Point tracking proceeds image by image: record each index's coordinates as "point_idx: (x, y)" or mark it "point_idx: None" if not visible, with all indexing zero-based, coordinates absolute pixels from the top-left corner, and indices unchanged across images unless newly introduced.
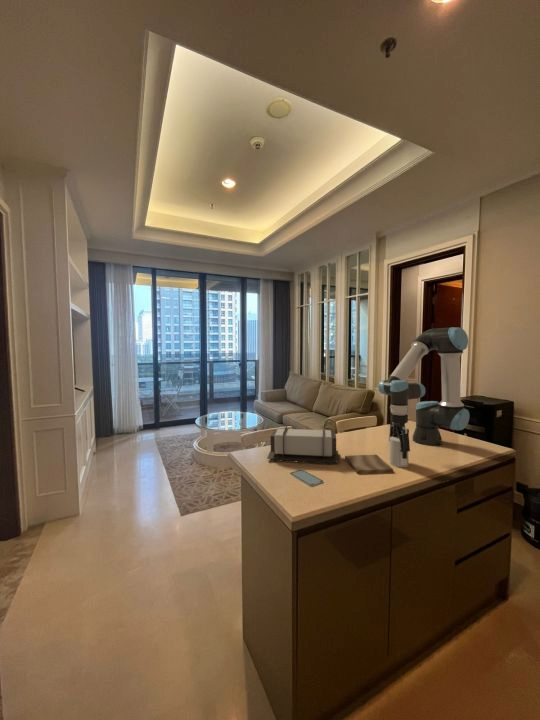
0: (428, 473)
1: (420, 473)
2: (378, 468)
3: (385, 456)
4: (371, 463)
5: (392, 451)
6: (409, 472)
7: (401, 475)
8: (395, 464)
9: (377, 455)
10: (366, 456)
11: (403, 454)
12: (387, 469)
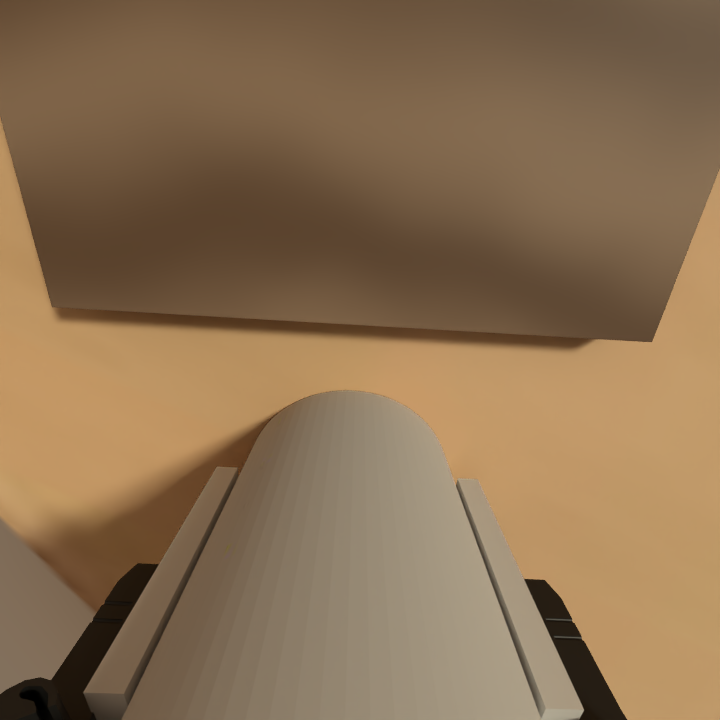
0: (109, 591)
1: (100, 540)
2: (35, 50)
3: (601, 451)
4: (290, 24)
5: (271, 551)
6: (114, 467)
7: (10, 351)
8: (273, 426)
9: (610, 338)
10: (658, 106)
11: (90, 642)
12: (30, 213)
